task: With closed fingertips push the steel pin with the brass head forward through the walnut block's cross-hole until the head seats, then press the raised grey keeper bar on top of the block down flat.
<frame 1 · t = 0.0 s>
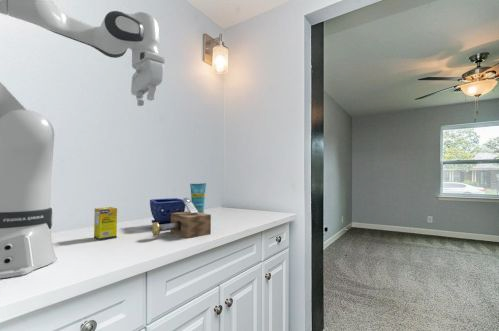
hand: (145, 102, 87), 48 cm above the worktop, fingers open, 8 cm apart
block: (190, 232, 101), on the worktop
tube: (197, 225, 116), on the worktop
keeper: (189, 205, 102), point 11 cm above the worktop, hinge at 35.0°
pin: (171, 226, 96), point 4 cm above the worktop, slide at 8.0 cm
supplement box: (105, 238, 93), on the worktop
flower pot: (167, 226, 114), on the worktop
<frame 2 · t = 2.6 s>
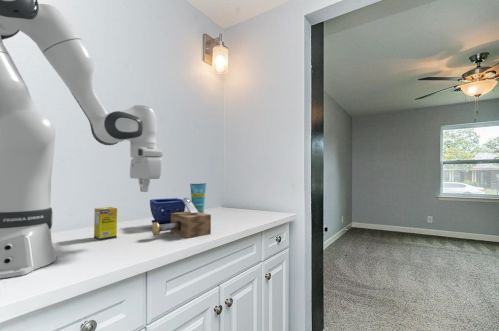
hand: (144, 191, 89), 17 cm above the worktop, fingers closed
nothing on the worktop moved.
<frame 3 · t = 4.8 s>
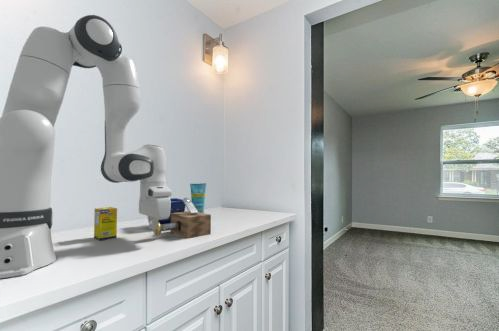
hand: (152, 228, 91), 4 cm above the worktop, fingers closed, pressing on pin
pin: (173, 226, 96), point 4 cm above the worktop, slide at 7.6 cm, touching gripper
everything else where it was.
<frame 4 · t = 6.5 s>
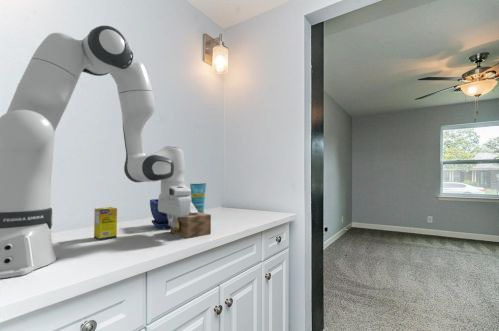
hand: (172, 226, 96), 4 cm above the worktop, fingers closed, pressing on pin
pin: (190, 223, 101), point 4 cm above the worktop, slide at 0.1 cm, touching gripper
everything else where it was.
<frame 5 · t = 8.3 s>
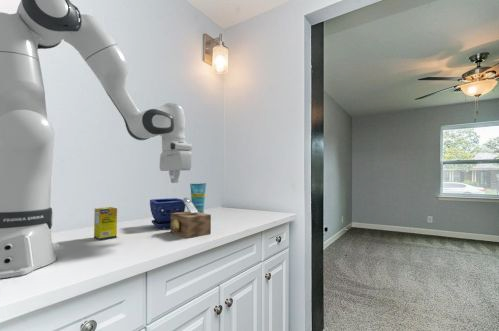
hand: (174, 182, 98), 20 cm above the worktop, fingers closed
pin: (190, 223, 101), point 4 cm above the worktop, slide at 0.1 cm
everything else where it was.
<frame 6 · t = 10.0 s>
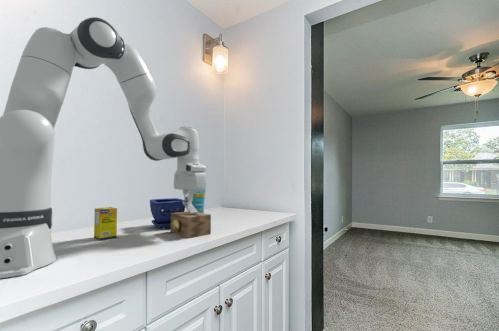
hand: (188, 201, 103), 12 cm above the worktop, fingers closed
keeper: (189, 206, 102), point 10 cm above the worktop, hinge at 28.3°, touching gripper
everything else where it was.
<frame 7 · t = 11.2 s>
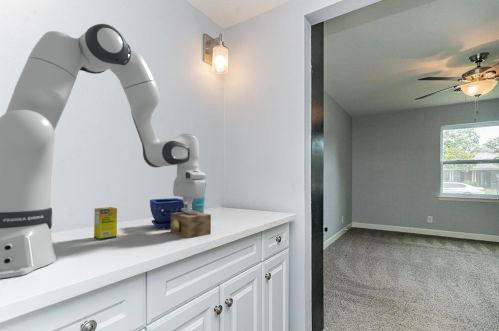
hand: (187, 208, 103), 9 cm above the worktop, fingers closed
keeper: (188, 210, 102), point 9 cm above the worktop, hinge at 4.9°
everything else where it was.
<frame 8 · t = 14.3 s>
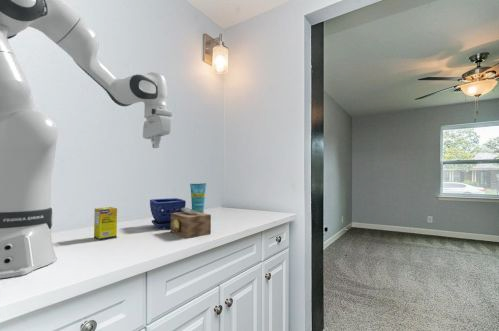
hand: (155, 147, 104), 34 cm above the worktop, fingers closed
nothing on the worktop moved.
at the end: pin slide at 0.1 cm; keeper at +5° (first picture: +35°) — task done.
